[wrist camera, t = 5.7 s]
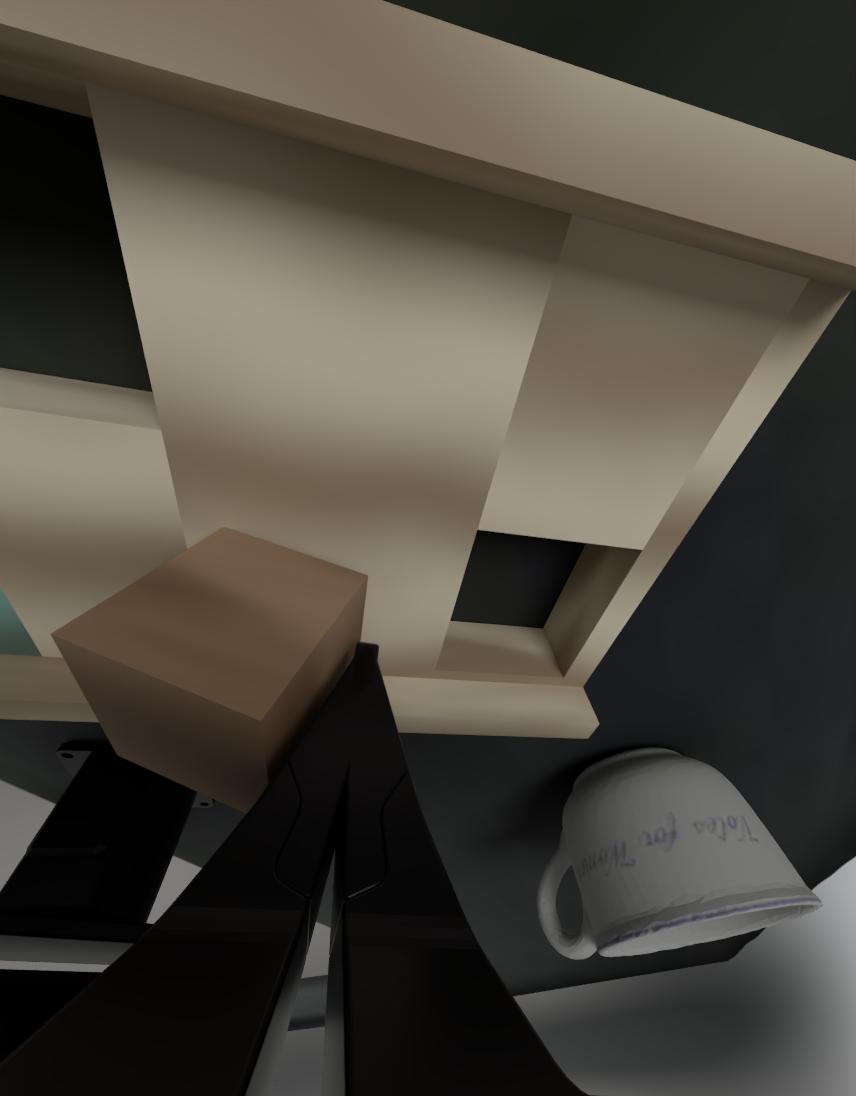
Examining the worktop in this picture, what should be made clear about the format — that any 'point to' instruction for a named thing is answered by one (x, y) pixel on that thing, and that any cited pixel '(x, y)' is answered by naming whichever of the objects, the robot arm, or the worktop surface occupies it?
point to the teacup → (665, 859)
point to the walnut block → (217, 660)
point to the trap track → (403, 330)
